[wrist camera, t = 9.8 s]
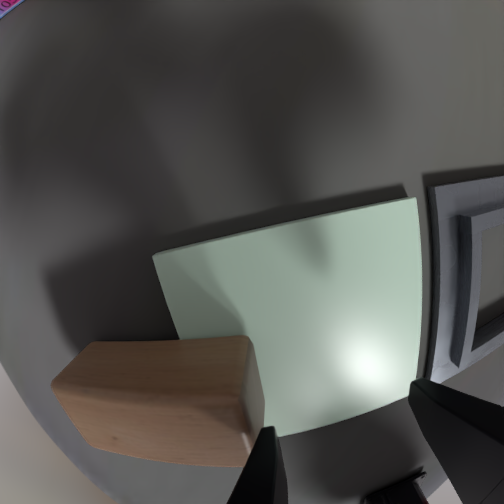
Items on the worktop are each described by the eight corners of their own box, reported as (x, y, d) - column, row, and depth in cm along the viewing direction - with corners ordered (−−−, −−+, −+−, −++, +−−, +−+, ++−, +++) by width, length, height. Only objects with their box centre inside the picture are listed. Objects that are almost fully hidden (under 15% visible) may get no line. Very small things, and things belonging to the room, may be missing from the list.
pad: (409, 387, 13) (413, 393, 13) (226, 437, 13) (226, 445, 13) (408, 196, 11) (416, 197, 10) (156, 252, 11) (152, 256, 10)
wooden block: (263, 470, 8) (88, 448, 9) (266, 401, 12) (119, 399, 12) (241, 399, 7) (44, 383, 8) (252, 329, 11) (90, 337, 12)
